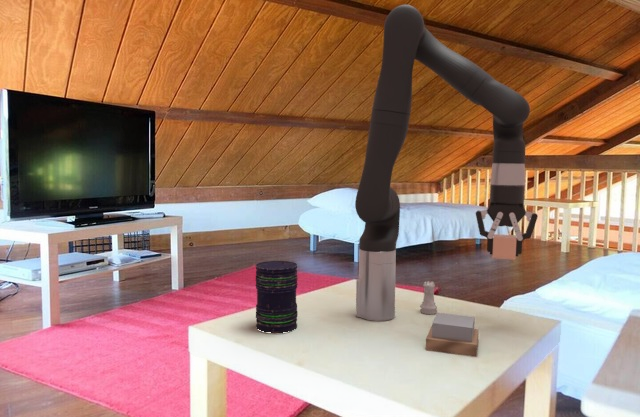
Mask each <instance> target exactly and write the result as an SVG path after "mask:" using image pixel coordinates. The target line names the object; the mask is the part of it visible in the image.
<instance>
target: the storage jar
mask: <svg viewBox="0 0 640 417" xmlns="http://www.w3.org/2000/svg"><path fill="white" fill-rule="evenodd" d="M255 269H256V270H255V290H256V304H255V319H256V320H255V322H256V325H255V328H256V327H257V328H256V330H257V329H259V330H261V331H264V332H271V333H282V334H284V333H283V332H288V331H291V332H293V331H292V330H294V329H295V330H296V329H297V328H298V323H297V321H298V317H299V316H298V303H297V288H298V270H297V269H298V263H296V262H293V261H285V260H269V261H268V260H267V261H262V262H258V263H256V264H255ZM295 330H294V331H295ZM288 333H289V332H288Z"/></svg>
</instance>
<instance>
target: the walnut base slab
mask: <svg viewBox="0 0 640 417" xmlns="http://www.w3.org/2000/svg"><path fill="white" fill-rule="evenodd" d="M479 331H480V330H479V328H474V334H473V339H472V342H465V341H458V340H450V339H443V338H436V337H432V325H431V326H430V328H429V330H428V333H427V336H426V338H425V351H428V352H437V353H446V354H451V355H458V356H459V355H461V356H468V357H474V358H477V355H478V348H479V347H478V346H479V333H480V332H479Z"/></svg>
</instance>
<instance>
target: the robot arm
mask: <svg viewBox="0 0 640 417" xmlns="http://www.w3.org/2000/svg"><path fill="white" fill-rule="evenodd" d="M381 61H382V62H381V66H380V67H381V68H380V72H379V75H378V76H379V77H378V80H377V84H376V89H375V93H374V98H373V105H372V107H371V116H370V121H369V122H370V123H369V129H368V130H369V131H368V137H367V142H366V151H365V159H364V164H363V169H362V172H361V178H360V181H359V183H358V184H359V185H358V188H357V192H356V196H355V203H354V204H355V207H354V208H355V211H356V214H357V216H358V217H359V219H360V220H361V221H363V222H364V223H365V224H364V229H363V233H362V235H361V236H360V237H359V240H358V241H359V244H358V254H359V255H358V278H357V279H356V280H355V281H356V283H355V284H356V285H355V286H356V288H355V289H356V290H355V291H356V293H355V295H356V296H355V297H356V298H355V300H356V302H355V303H356V304H355V305H356V306H355V316H356V318H357V317H359V318H361V319H364V320H368V321H377V322H378V321H379V322H382V321H383V322H384V321H389V320H392V319H394V318H395V316H396V267H397V265H396V264H397V263H396V262H397V260H396V255H397V241H398V238H399V235H400V234H399V233H400V219H401V206H400V205H401V202H400V197H399V195H398V193H397V192H396V190H395V189H393V188H392V187H391V183H392V182H391V181H392V175H393V170H394V167H395V163H396V161H397V159H398V157H399V155H400V152H401V150H402V148H403V146H404V143H405V140H406V137H407V134H408V129H409V125H410V124H409V123H410V119H411V116H410V115H411V113H412V112H411V111H412V99H413V98H412V97H413V71H414V64H415V61H417V62H419V63H420V64H422V65H423V66H425V67H427V68H428V69H430V70H431V71H432V72H434V73H435V74H436V75H437V76H439V77H440V78H441V79H442V80H443V81H444V82H446V83H447V84H448V85H449V86H451V87H452V88H453V89H455V90H456V91H457V92H458V93H460V94H461V95H462V96H463V97H464V98H466V99H467V100H468V101H470V102H471V103H473V104H474V105H477V106H480V107H482V108H484V109H485V110H487V111H488V113H490V114H492V132H493V148H492V163H491V164H492V167H491V173H490V179H489V180H490V181H489V182H490V184H489V185H490V186H489V205H488V207H487V209H484V210H477V211H476V212H475V217H476V222H477V228H478V232H479V235H480V236H482V237H485V238H486V239H487V240H486V241H487V242H486V243H487V244H486V251H487V252H488V253H489V255H491V256H493V236H494V234H496V231H497V229H498V227H508V228H513V230H514V233H515V235H516V238H517V239H516V258H517V257H519V255H521V254H522V252H523V242H524V240H527V239H528V240H529V239H532V236H533V232H534V229H535V227H536V223H537V220H538V214H537V213H536V212H530V211H527V210H526V209H525V205H524V204H525V191H526V190H525V187H526V168H525V167H526V166H525V163H526V143H525V140H524V138H523V137H524V123H525V122H526V121H527V120H528V118H529V116H530V113H531V107H530V104H529V102H528V101H527V99H526V98H525V97H524V96H522V95H521V94H520V93H519V92H517V91H515V90H514V89H512V88H511V87H509V86H507V85H505V84H503V83H502V82H499V81H497V80H496V79H495V78H494V77H493V76H492V75H490V74H489V73H488V72H487V71H485V70H484V69H482V68H481V66H478V65H477V64H476V63H475V62H473V61H472V60H470V59H468V58H466V57H465V56H463V55H462V54H459V53H458V52H456V51H454V50H452V49H451V48H449V47H448V46H446V45H444V44H443V43H442V42H441V41H439V39H437V38H436V37H435V36H434V35H433V34H432V33H431V32H430V31H429V30H428V29H427V28H426V27H425V20H424V18H423V15H422V14H421V12H420V11H419V9H417V8H416V7H415V6H413V5H410V4H405V3H404V4H401V5H398V6H396V7H394V8H393V9H392V10H391V11H390V12H389V13H388V15H387V16H386V18H385V20H384V24H383V46H382V59H381ZM486 215H488V216H489V217H490V219H491V220H492V221H493V222H492V224H491V226H490V228H489V231H487V230H486V227H485V222H484V220H485V219H486ZM524 217H526V220H527V222H528V224H527V227H526V231H525V232H524V233H522V232H521V231H522V230H521V229H520V226H519V222H520V221H522V219H523V218H524Z"/></svg>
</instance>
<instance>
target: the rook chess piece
mask: <svg viewBox="0 0 640 417" xmlns="http://www.w3.org/2000/svg"><path fill="white" fill-rule="evenodd" d="M422 287H423V289H424V290H423V301H422V302H421V304H420V309H419V311H420V313H421V314H424V315H435V314H437V312H438V310H437V309H438V305H436V302H435V294H434V293H435V290H434V289H435V288H436V285H435V281H429V280H427V281H424V282H423V285H422Z"/></svg>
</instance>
